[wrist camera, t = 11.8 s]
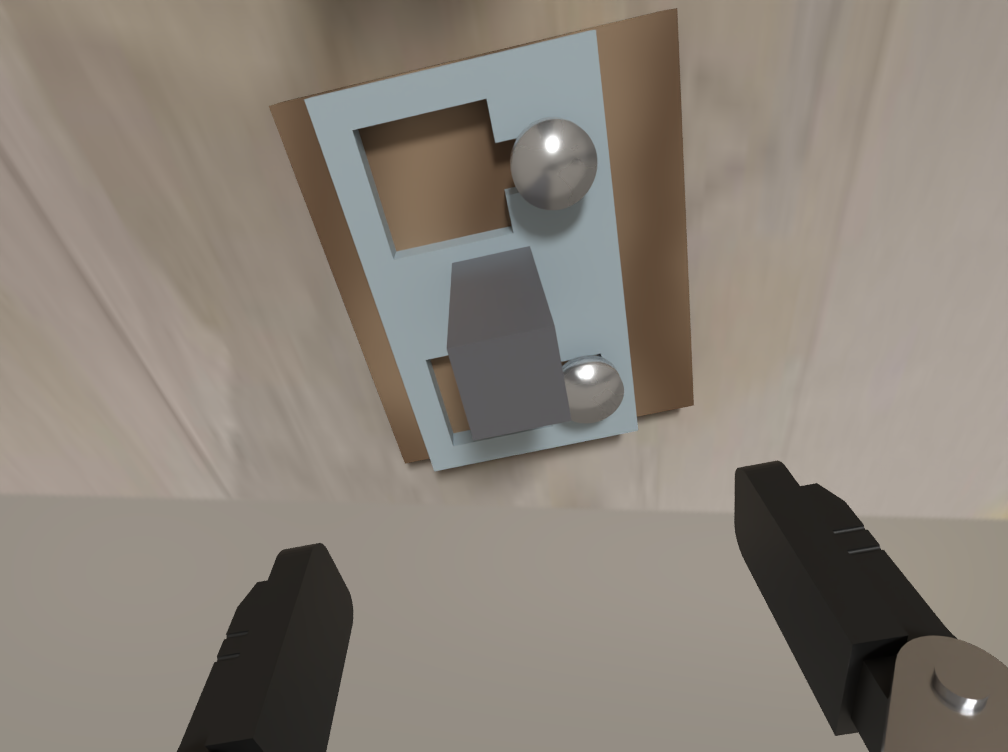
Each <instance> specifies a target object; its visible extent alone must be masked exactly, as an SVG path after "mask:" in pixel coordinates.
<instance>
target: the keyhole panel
mask: <svg viewBox="0 0 1008 752" xmlns="http://www.w3.org/2000/svg"><path fill="white" fill-rule="evenodd" d="M483 99H486V100H487V105H488V110H489V115H490V120H491V125H492V130H493V135H494V140H495V143H498V142H502V141H506V140H511V139H515V138H517V137H518V136H519V134H520V133H521V132H522V131H523V130H524V129H525V128H526V127H527V126H528V125H530V124H531V123H533V122H535V121H537V120H539V119H542V118H547V117H561V118H565V119H568V120H570V121H572V122H573V123H575V124H577V125H578V126H579V127H581V128H582V129H583V130H584V131H585V132H586V133H587V134H588V135H589V137H590V138H591V140H592V142H593V144H594V146H595V149H596V153H597V162H598V164H597V172H596V176H595V179H594V182H593V184H592V186H591V188H590V189H589V191H588V192H587V193H586V195H585V196H584V197H583V198H582V199H581V200H579V201H578V202H577V203H575V204H574V205H572V206H570V207H567V208H564V209H561V210H544V209H540V208H537V207H535V206H533V205H531V204H530V203H528V202H527V201H526V200H525V199H524V198H523V197H522V196H521V195H520V193H519V192H518V190H517V188H516V187H513V188H508V189H504V190H505V195H506V200H507V205H508V210H509V215H510V219H511V224H512V226H509V227H504V228H500V229H495V230H491V231H486V232H482V233H477V234H473V235H468V236H464V237H459V238H455V239H451V240H446V241H442V242H437V243H433V244H428V245H424V246H419V247H415V248H410V249H406V250H401V251H397V252H396V249H395V245H394V242H393V239H392V236H391V233H390V229H389V226H388V223H387V220H386V217H385V214H384V210H383V207H382V204H381V201H380V198H379V194H378V191H377V188H376V185H375V182H374V179H373V175H372V172H371V169H370V166H369V163H368V159H367V156H366V153H365V150H364V147H363V144H362V140H361V137H360V134H359V131H358V129H360V128H364V127H368V126H373V125H377V124H381V123H385V122H390V121H394V120H398V119H402V118H407V117H411V116H415V115H419V114H424V113H428V112H432V111H436V110H441V109H445V108H449V107H453V106H457V105H462V104H466V103H470V102H474V101H479V100H483ZM304 101H305V104H306V106H307V109H308V112H309V115H310V118H311V121H312V123H313V126H314V129H315V132H316V135H317V138H318V141H319V143H320V146H321V149H322V152H323V155H324V158H325V161H326V163H327V166H328V169H329V172H330V175H331V178H332V181H333V183H334V186H335V189H336V192H337V195H338V198H339V200H340V203H341V206H342V209H343V212H344V215H345V218H346V220H347V223H348V226H349V229H350V232H351V235H352V238H353V240H354V243H355V246H356V249H357V252H358V255H359V258H360V260H361V263H362V266H363V269H364V272H365V275H366V277H367V280H368V283H369V286H370V289H371V292H372V295H373V297H374V300H375V303H376V306H377V309H378V312H379V315H380V317H381V320H382V323H383V326H384V329H385V332H386V335H387V337H388V340H389V343H390V346H391V349H392V352H393V354H394V357H395V360H396V363H397V366H398V369H399V372H400V374H401V377H402V380H403V383H404V386H405V389H406V392H407V394H408V397H409V400H410V403H411V406H412V409H413V412H414V414H415V417H416V420H417V423H418V426H419V429H420V431H421V434H422V437H423V440H424V443H425V446H426V449H427V451H428V454H429V457H430V460H431V463H432V466H433V469H434V471H439V470H444V469H449V468H454V467H459V466H464V465H469V464H474V463H479V462H484V461H489V460H494V459H499V458H504V457H509V456H514V455H519V454H524V453H529V452H534V451H539V450H544V449H549V448H554V447H559V446H564V445H569V444H574V443H579V442H584V441H589V440H594V439H599V438H604V437H608V436H613V435H618V434H623V433H628V432H633V431H638V424H637V415H636V405H635V396H634V386H633V377H632V367H631V358H630V348H629V339H628V329H627V320H626V311H625V301H624V292H623V282H622V273H621V263H620V254H619V244H618V235H617V225H616V216H615V206H614V197H613V188H612V178H611V169H610V159H609V150H608V140H607V131H606V121H605V112H604V102H603V93H602V83H601V74H600V65H599V55H598V46H597V36H596V30H589V31H585V32H581V33H576V34H572V35H568V36H564V37H560V38H556V39H551V40H547V41H543V42H539V43H535V44H530V45H526V46H522V47H518V48H514V49H510V50H505V51H501V52H497V53H493V54H489V55H485V56H480V57H476V58H472V59H468V60H464V61H460V62H455V63H451V64H447V65H443V66H439V67H435V68H430V69H426V70H422V71H418V72H414V73H410V74H405V75H401V76H397V77H393V78H389V79H385V80H380V81H376V82H372V83H368V84H364V85H360V86H355V87H351V88H347V89H343V90H339V91H335V92H330V93H326V94H322V95H318V96H314V97H310V98H307V99H304ZM596 354H598V356H600V357H602V358H605V359H607V360H608V361H610V362H611V363H612V364H613V365H614V366H615V368H616V369H617V371H618V373H619V375H620V378H621V380H622V382H623V386H624V396H623V400H622V402H621V404H620V406H619V407H618V409H617V410H616V411H615V412H614V413H613V414H612V415H610V416H609V417H607V418H606V419H604V420H601V421H599V422H595V423H586V424H585V423H577V422H574V421H572V420H571V414H570V408H569V403H568V397H567V392H566V386H565V380H564V375H563V369H562V364H561V362H562V361H567V360H572V359H574V358H576V357H580V356H585V355H596ZM447 355H449V359H450V362H451V366H452V369H453V372H454V376H455V379H456V383H457V386H458V389H459V393H460V396H461V400H462V403H463V406H464V410H465V413H466V417H467V420H468V423H469V427H470V430H467V431H462V432H458V433H453V430H452V427H451V424H450V420H449V417H448V414H447V411H446V408H445V405H444V401H443V398H442V395H441V392H440V389H439V385H438V382H437V379H436V376H435V373H434V370H433V366H432V363H431V360H430V359H433V358H438V357H442V356H447Z"/></svg>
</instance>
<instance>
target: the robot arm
mask: <svg viewBox="0 0 1008 752" xmlns="http://www.w3.org/2000/svg"><path fill="white" fill-rule="evenodd" d="M734 520H735V521H734V523H735V533H736V538H737V542H738V545H739V549H740V551H741V554H742V556H743V558H744V560H745V562H746V564H747V566H748V568H749V570H750V572H751V574H752V576H753V578H754V580H755V581H756V583H757V586H758V587H759V589H760V591H761V593H762V595H763V597H764V599H765V601H766V603H767V605H768V607H769V609H770V611H771V612H772V614H773V616H774V618H775V620H776V622H777V624H778V626H779V628H780V630H781V632H782V634H783V636H784V637H785V640H786V641H787V643H788V645H789V647H790V649H791V651H792V653H793V655H794V657H795V659H796V661H797V663H798V665H799V667H800V668H801V670H802V672H803V674H804V676H805V678H806V680H807V682H808V684H809V686H810V688H811V690H812V691H813V693H814V696H815V697H816V699H817V701H818V703H819V705H820V707H821V709H822V711H823V713H824V715H825V717H826V719H827V721H828V723H829V724H830V726H831V728H832V730H833V732H834V734H835V736H838V735H844V734H851V733H858V732H859V734H860V736H861V738H862V739H863V741H864V743H865V745H866V747H867V748H868V750H869V752H1008V668H1007V667H1006V666H1005V665H1004V664H1003V663H1002V662H1000V661H999V660H998V659H997V658H995V657H994V656H992V655H991V654H989V653H987V652H986V651H984V650H982V649H981V648H979V647H977V646H975V645H972V644H970V643H967V642H965V641H962V640H958V639H957V638H956V637H955V636H954V635H952V633H951V632H950V631H949V630H948V629H947V628H946V627H945V626H944V625H943V623H942V622H941V621H940V619H939V618H938V617H937V616H936V615H935V613H934V612H933V611H932V610H931V608H930V607H929V606H928V605H927V603H926V602H925V601H924V600H923V598H922V597H921V596H920V595H919V593H918V592H917V591H916V589H915V588H914V587H913V586H912V584H911V583H910V582H909V581H908V580H907V579H906V577H905V576H904V575H903V573H902V572H901V571H900V570H899V568H898V567H897V566H896V565H895V563H894V562H893V561H892V560H891V558H890V557H889V556H888V555H887V553H886V552H885V551H884V550H881V549H880V545H879V543H878V542H877V541H876V540H875V538H874V537H873V536H872V535H871V533H870V532H869V531H868V530H865V528H864V525H863V523H862V522H861V521H860V520H859V518H858V517H857V516H856V515H855V513H854V512H853V511H852V510H851V508H850V507H849V506H848V505H847V503H846V502H845V501H844V500H842V499H840V498H839V497H837V496H836V495H834V494H833V493H831V492H830V491H828V490H827V489H825V488H823V487H822V486H820V485H819V484H817V483H816V484H810V485H805V486H799V484H798V483H797V481H796V480H795V479H794V477H793V476H792V475H791V473H790V472H789V470H788V469H787V468H786V466H785V465H784V464H783V463H782V462H780V461H773V462H767V463H762V464H756V465H751V466H745V467H740V468H737V469H736V472H735V519H734ZM352 624H353V604H352V599H351V595H350V592H349V590H348V588H347V587H346V584H345V582H344V581H343V579H342V577H341V575H340V573H339V571H338V569H337V567H336V565H335V563H334V561H333V559H332V558H331V556H330V554H329V552H328V550H327V548H326V547H325V546H324V545H323V544H321V543H318V544H312V545H306V546H301V547H295V548H290V549H284V550H282V551H281V552H280V553H279V554H278V556H277V558H276V560H275V563H274V565H273V568H272V570H271V574H270V576H269V578H268V580H267V581H262V582H257V583H256V585H255V586H254V587H253V588H252V590H251V591H250V592H249V594H248V595H247V596H246V597H245V599H244V600H243V601H242V602H241V603H240V605H239V606H238V607H237V609H236V612H235V614H234V617H233V619H232V622H231V624H230V626H229V629H228V631H227V633H226V635H227V639H225V640H224V641H223V643H222V646H221V648H220V650H219V653H218V655H217V658H218V660H217V662H215V663H214V665H213V667H212V670H211V672H210V674H209V677H208V679H207V681H206V684H205V686H204V689H203V691H202V693H201V696H200V698H199V701H198V703H197V706H196V708H195V710H194V713H193V715H192V718H191V720H190V723H189V725H188V727H187V729H186V732H185V735H184V737H183V739H182V742H181V744H180V746H179V748H178V750H177V752H326V750H327V745H328V740H329V735H330V730H331V725H332V721H333V716H334V711H335V706H336V701H337V696H338V692H339V687H340V682H341V678H342V672H343V668H344V663H345V658H346V653H347V649H348V643H349V639H350V634H351V629H352Z"/></svg>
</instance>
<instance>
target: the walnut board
mask: <svg viewBox="0 0 1008 752" xmlns="http://www.w3.org/2000/svg"><path fill="white" fill-rule="evenodd" d="M589 30H596V36H597V46H598V55H599V65H600V74H601V83H602V93H603V102H604V112H605V121H606V131H607V140H608V150H609V159H610V169H611V178H612V188H613V197H614V206H615V216H616V225H617V235H618V244H619V254H620V263H621V273H622V282H623V292H624V301H625V311H626V320H627V329H628V339H629V348H630V358H631V367H632V377H633V386H634V396H635V405H636V415H637V417H638V416H643V415H648V414H653V413H658V412H663V411H668V410H673V409H678V408H683V407H688V406H693V405H694V400H693V376H692V352H691V328H690V304H689V280H688V257H687V233H686V209H685V185H684V161H683V137H682V113H681V89H680V65H679V41H678V17H677V8H676V9H670V10H664V11H659V12H655V13H651V14H647V15H643V16H639V17H634V18H630V19H626V20H622V21H618V22H614V23H609V24H605V25H601V26H597V27H593V28H589V29H584V30H580V31H576V32H572V33H568V34H564V35H559V36H555V37H551V38H547V39H543V40H539V41H534V42H530V43H526V44H522V45H518V46H513V47H509V48H505V49H501V50H497V51H493V52H488V53H484V54H480V55H476V56H472V57H468V58H463V59H459V60H455V61H451V62H447V63H443V64H438V65H434V66H430V67H426V68H422V69H418V70H413V71H409V72H405V73H401V74H397V75H393V76H388V77H384V78H380V79H376V80H372V81H368V82H363V83H359V84H355V85H351V86H347V87H343V88H338V89H334V90H330V91H326V92H322V93H318V94H313V95H309V96H305V97H301V98H297V99H293V100H288V101H284V102H280V103H277V104H274V105H271V106H269V108H270V110H271V113H272V116H273V118H274V121H275V123H276V126H277V129H278V131H279V134H280V137H281V139H282V142H283V144H284V147H285V150H286V152H287V155H288V158H289V160H290V163H291V165H292V168H293V171H294V173H295V176H296V179H297V181H298V184H299V186H300V189H301V192H302V194H303V197H304V200H305V202H306V205H307V207H308V210H309V213H310V215H311V218H312V221H313V223H314V226H315V228H316V231H317V234H318V236H319V239H320V242H321V244H322V247H323V249H324V252H325V255H326V257H327V260H328V262H329V265H330V268H331V270H332V273H333V276H334V278H335V281H336V283H337V286H338V289H339V291H340V294H341V297H342V299H343V302H344V304H345V307H346V310H347V312H348V315H349V318H350V320H351V323H352V325H353V328H354V331H355V333H356V336H357V339H358V341H359V344H360V346H361V349H362V352H363V354H364V357H365V360H366V362H367V365H368V367H369V370H370V373H371V375H372V378H373V380H374V383H375V386H376V388H377V391H378V394H379V396H380V399H381V401H382V404H383V407H384V409H385V412H386V415H387V417H388V420H389V422H390V425H391V428H392V430H393V433H394V436H395V438H396V441H397V443H398V446H399V449H400V451H401V454H402V457H403V459H404V462H405V463H410V462H415V461H420V460H425V459H430V457H429V454H428V451H427V449H426V446H425V443H424V440H423V437H422V434H421V431H420V429H419V426H418V423H417V420H416V417H415V414H414V412H413V409H412V406H411V403H410V400H409V397H408V394H407V392H406V389H405V386H404V383H403V380H402V377H401V374H400V372H399V369H398V366H397V363H396V360H395V357H394V354H393V352H392V349H391V346H390V343H389V340H388V337H387V335H386V332H385V329H384V326H383V323H382V320H381V317H380V315H379V312H378V309H377V306H376V303H375V300H374V297H373V295H372V292H371V289H370V286H369V283H368V280H367V277H366V275H365V272H364V269H363V266H362V263H361V260H360V258H359V255H358V252H357V249H356V246H355V243H354V240H353V238H352V235H351V232H350V229H349V226H348V223H347V220H346V218H345V215H344V212H343V209H342V206H341V203H340V200H339V198H338V195H337V192H336V189H335V186H334V183H333V181H332V178H331V175H330V172H329V169H328V166H327V163H326V161H325V158H324V155H323V152H322V149H321V146H320V143H319V141H318V138H317V135H316V132H315V129H314V126H313V123H312V121H311V118H310V115H309V112H308V109H307V106H306V104H305V101H304V99H307V98H310V97H314V96H318V95H322V94H326V93H330V92H335V91H339V90H343V89H347V88H351V87H355V86H360V85H364V84H368V83H372V82H376V81H380V80H385V79H389V78H393V77H397V76H401V75H405V74H410V73H414V72H418V71H422V70H426V69H430V68H435V67H439V66H443V65H447V64H451V63H455V62H460V61H464V60H468V59H472V58H476V57H480V56H485V55H489V54H493V53H497V52H501V51H505V50H510V49H514V48H518V47H522V46H526V45H530V44H535V43H539V42H543V41H547V40H551V39H556V38H560V37H564V36H568V35H572V34H576V33H581V32H585V31H589ZM358 131H359V134H360V137H361V140H362V144H363V147H364V150H365V153H366V156H367V159H368V163H369V166H370V169H371V172H372V175H373V179H374V182H375V185H376V188H377V191H378V194H379V198H380V201H381V204H382V207H383V210H384V214H385V217H386V220H387V223H388V226H389V229H390V233H391V236H392V239H393V242H394V245H395V249H396V252H397V251H401V250H406V249H410V248H415V247H419V246H424V245H428V244H433V243H437V242H442V241H446V240H451V239H455V238H459V237H464V236H468V235H473V234H477V233H482V232H486V231H491V230H495V229H500V228H504V227H509V226H512V224H511V219H510V215H509V210H508V205H507V200H506V195H505V190H504V189H508V188H513V187H516V188H517V190H518V192H519V193H520V195H521V196H522V197H523V198H524V199H525V200H526V201H527V202H528V203H530V204H531V205H533V206H535V207H537V208H540V209H544V210H561V209H564V208H567V207H570V206H572V205H574V204H575V203H577V202H578V201H579V200H581V199H582V198H583V197H584V196H585V195H586V193H587V192H588V191H589V189H590V188H591V186H592V184H593V182H594V179H595V176H596V172H597V164H598V162H597V153H596V149H595V146H594V144H593V142H592V140H591V138H590V137H589V135H588V134H587V133H586V132H585V131H584V130H583V129H582V128H581V127H579V126H578V125H577V124H575V123H573V122H572V121H570V120H568V119H565V118H561V117H547V118H542V119H539V120H537V121H535V122H533V123H531V124H530V125H528V126H527V127H526V128H525V129H524V130H523V131H522V132H521V133H520V134H519V136H518V137H517V138H515V139H511V140H506V141H502V142H498V143H495V140H494V135H493V130H492V125H491V120H490V115H489V110H488V105H487V100H486V99H483V100H479V101H474V102H470V103H466V104H462V105H457V106H453V107H449V108H445V109H441V110H436V111H432V112H428V113H424V114H419V115H415V116H411V117H407V118H402V119H398V120H394V121H390V122H385V123H381V124H377V125H373V126H368V127H364V128H360V129H358ZM430 360H431V363H432V366H433V370H434V373H435V376H436V379H437V382H438V385H439V389H440V392H441V395H442V398H443V401H444V405H445V408H446V411H447V414H448V417H449V420H450V424H451V427H452V430H453V433H458V432H462V431H467V430H470V427H469V423H468V420H467V417H466V413H465V410H464V406H463V403H462V400H461V396H460V393H459V389H458V386H457V383H456V379H455V376H454V372H453V369H452V366H451V362H450V359H449V355H447V356H442V357H438V358H433V359H430ZM561 364H562V369H563V375H564V380H565V386H566V392H567V397H568V403H569V408H570V414H571V420H572V421H574V422H577V423H585V424H586V423H595V422H599V421H601V420H604V419H606V418H607V417H609V416H610V415H612V414H613V413H614V412H615V411H616V410H617V409H618V407H619V406H620V404H621V402H622V400H623V396H624V386H623V382H622V380H621V378H620V375H619V373H618V371H617V369H616V368H615V366H614V365H613V364H612V363H611V362H610V361H608V360H607V359H605V358H602V357H600V356H598V354H596V355H585V356H580V357H576V358H574V359H572V360H567V361H562V362H561Z"/></svg>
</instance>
